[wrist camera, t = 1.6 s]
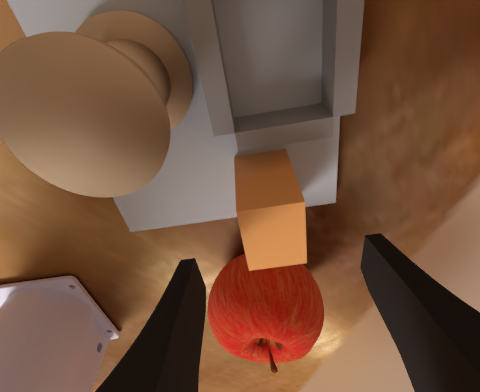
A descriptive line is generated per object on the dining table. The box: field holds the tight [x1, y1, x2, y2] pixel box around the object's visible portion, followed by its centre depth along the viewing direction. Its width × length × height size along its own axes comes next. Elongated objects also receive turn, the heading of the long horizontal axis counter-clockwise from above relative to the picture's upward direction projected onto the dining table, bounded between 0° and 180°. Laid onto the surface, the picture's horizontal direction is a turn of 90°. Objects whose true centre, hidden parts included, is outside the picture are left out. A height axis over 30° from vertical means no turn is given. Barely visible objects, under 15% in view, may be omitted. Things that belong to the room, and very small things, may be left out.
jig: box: [7, 0, 365, 232], centre depth 14 cm, size 14×14×3 cm
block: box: [234, 149, 307, 271], centre depth 15 cm, size 4×3×5 cm
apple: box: [208, 254, 324, 373], centre depth 20 cm, size 8×8×8 cm
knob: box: [0, 10, 193, 197], centre depth 11 cm, size 6×6×6 cm
